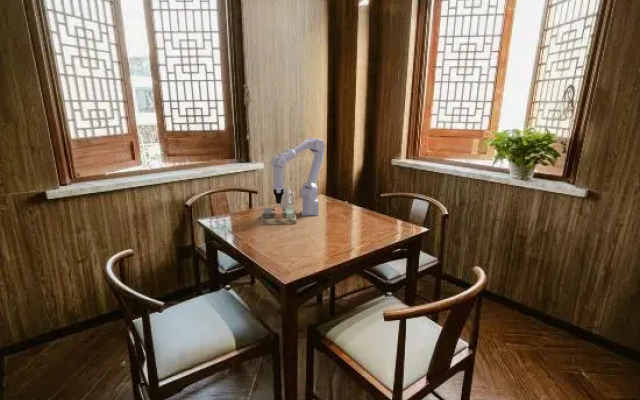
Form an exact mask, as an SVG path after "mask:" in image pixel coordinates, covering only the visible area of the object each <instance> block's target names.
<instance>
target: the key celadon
mask: <svg viewBox="0 0 640 400" xmlns="http://www.w3.org/2000/svg"><path fill="white" fill-rule="evenodd" d="M285 211H286V216H285V218H286V219H294V212H293V211H294V207H293V206H290V207H287V208H286V210H285Z"/></svg>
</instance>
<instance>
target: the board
mask: <svg viewBox="0 0 640 400" xmlns="http://www.w3.org/2000/svg"><path fill="white" fill-rule="evenodd" d="M293 212H294V219H286V210H282V213H283V219H275V210H272V218H271V219H264V210H262V211H261V218H260V225H296V224H297V215H296V210H295V211H294V210H293Z"/></svg>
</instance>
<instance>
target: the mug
mask: <svg viewBox="0 0 640 400" xmlns="http://www.w3.org/2000/svg"><path fill="white" fill-rule="evenodd" d="M283 191H284V193H283V195H282V199H281V204H279V208H282V211H286V208H287V207H291V206H294V204H295V201H296V195H295V193H294V192H291V188H286V187H284V190H283ZM291 196H292V197H293V200H292V201H291Z"/></svg>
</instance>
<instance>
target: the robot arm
mask: <svg viewBox="0 0 640 400" xmlns="http://www.w3.org/2000/svg"><path fill="white" fill-rule="evenodd" d="M325 146H326V143H325V141H324V140H323V139H321V138H315V137H308V138H306V139H304V141H303V142H300V144H298V145H297V146H295V147H294V148H286V149H285V151H283V152H281V153H278V155H273V156H272V158H271V160H270V165H272V181H273V182H272V183H273V184H272V185H271V186H270V188H272V192H273V194H274V197H275V202H276V204H277V205H280V204H281V199H282V195H283V193H284V191H283V190H284V188H285V182H284V181H285V179H284V178H285V176H284V175H285V172H284V171H285V169H284V167H285V166H286V164H287V163H289V162H290V161H292V160H294V159H295V158H296V155H298V154H300V153H302V152H303V151H305V150H309V151H311V152H312V154H313V159H312V162H311V165H310V169H309V174H308V175H307V180H306V182H304V183H303V185H302V187H301V189H300V191H299V194H300V196H301V199H302V210H301V215H302V216H319V199H318V198H317V197H318V191H319V187H318V186H317V181H318V179H319V176H320V172H321V168H322V164H323V160H324V158H325Z"/></svg>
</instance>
